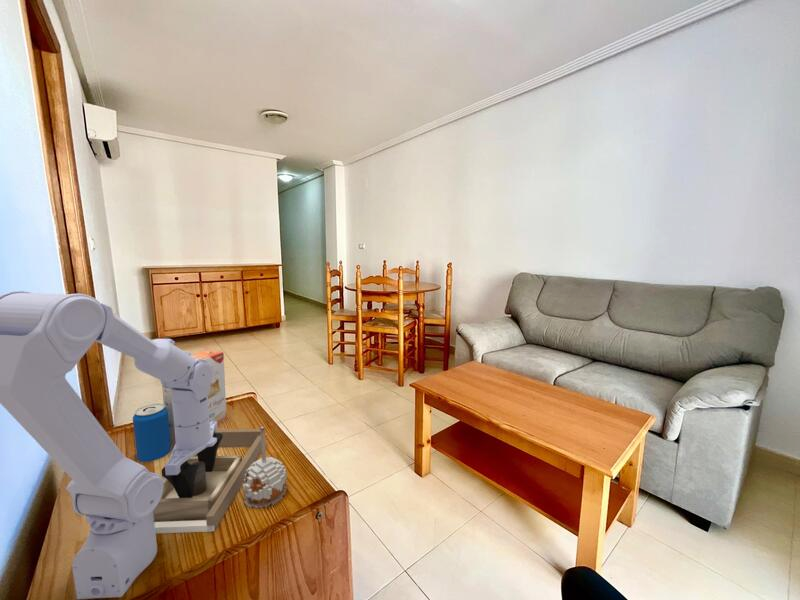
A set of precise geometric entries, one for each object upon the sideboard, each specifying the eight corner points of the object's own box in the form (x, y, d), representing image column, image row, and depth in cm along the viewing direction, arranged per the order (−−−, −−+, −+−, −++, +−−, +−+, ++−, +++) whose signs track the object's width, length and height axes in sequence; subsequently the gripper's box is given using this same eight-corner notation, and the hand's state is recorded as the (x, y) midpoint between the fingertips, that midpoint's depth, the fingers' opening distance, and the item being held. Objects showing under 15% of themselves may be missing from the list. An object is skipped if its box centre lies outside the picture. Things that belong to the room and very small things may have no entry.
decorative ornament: (236, 500, 65) (231, 429, 63) (271, 478, 71) (268, 413, 69) (259, 519, 61) (255, 444, 58) (294, 494, 67) (292, 425, 65)
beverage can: (166, 445, 83) (162, 399, 81) (175, 455, 79) (171, 408, 77) (134, 457, 78) (128, 409, 76) (142, 469, 74) (136, 418, 72)
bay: (214, 535, 57) (212, 510, 56) (123, 539, 56) (120, 514, 55) (265, 446, 83) (264, 428, 82) (203, 448, 82) (201, 429, 81)
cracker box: (184, 450, 81) (177, 368, 78) (166, 445, 83) (158, 365, 79) (229, 421, 94) (224, 350, 91) (212, 418, 96) (206, 348, 93)
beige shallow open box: (213, 518, 60) (211, 489, 59) (143, 520, 59) (140, 491, 58) (242, 470, 72) (241, 446, 72) (185, 471, 72) (183, 447, 71)
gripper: (192, 440, 56) (198, 512, 58) (230, 401, 71) (234, 460, 73) (149, 441, 56) (157, 513, 58) (196, 402, 70) (200, 460, 72)
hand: (197, 483), depth 65 cm, fingers open, 7 cm apart
